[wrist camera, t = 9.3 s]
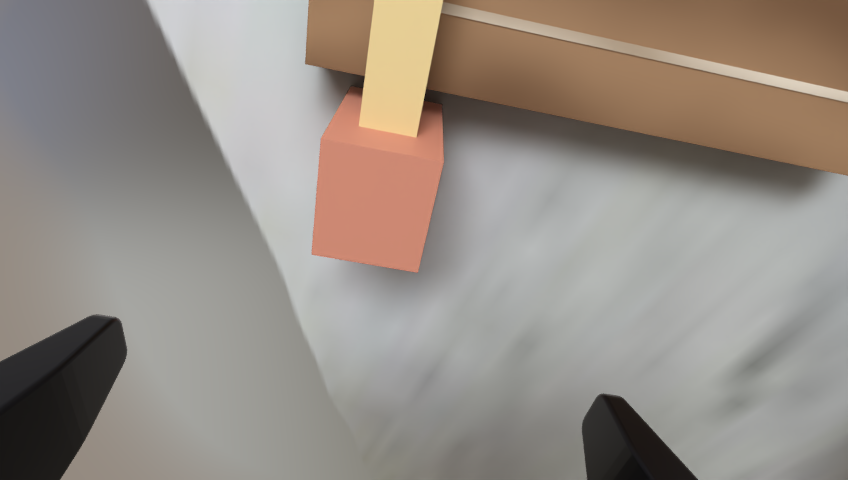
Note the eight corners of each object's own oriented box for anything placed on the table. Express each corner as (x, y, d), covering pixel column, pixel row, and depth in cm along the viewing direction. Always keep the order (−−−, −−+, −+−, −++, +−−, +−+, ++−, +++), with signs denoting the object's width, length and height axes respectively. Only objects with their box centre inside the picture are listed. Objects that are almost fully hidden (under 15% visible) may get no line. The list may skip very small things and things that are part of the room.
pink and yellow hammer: (422, 195, 20) (417, 272, 16) (340, 180, 20) (311, 254, 15) (509, -209, 13) (549, -286, 9) (386, -241, 13) (359, -340, 8)
